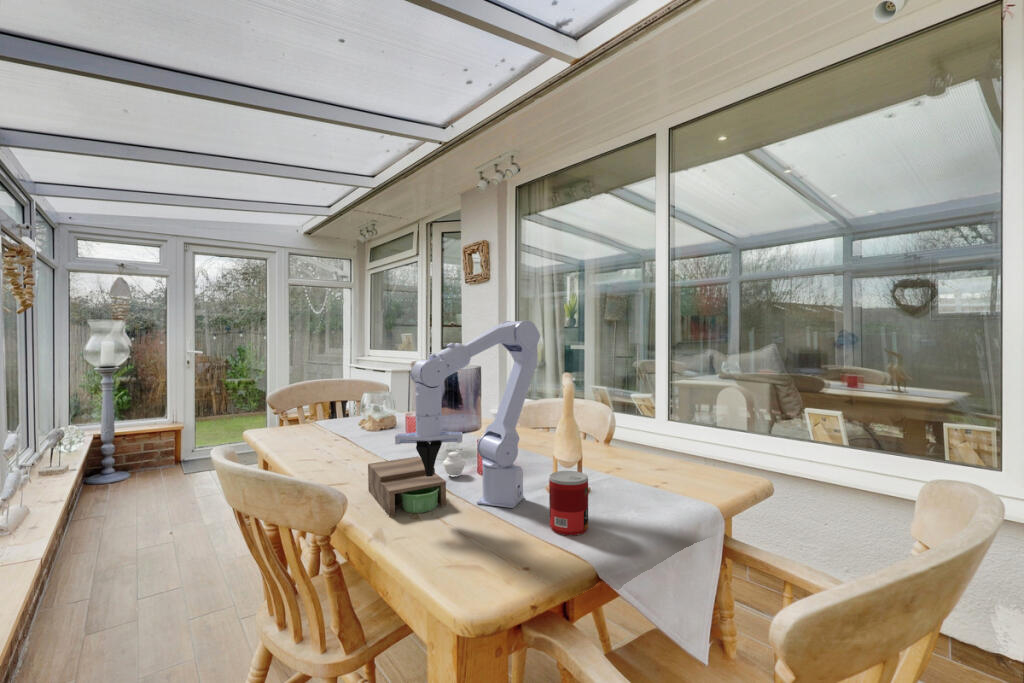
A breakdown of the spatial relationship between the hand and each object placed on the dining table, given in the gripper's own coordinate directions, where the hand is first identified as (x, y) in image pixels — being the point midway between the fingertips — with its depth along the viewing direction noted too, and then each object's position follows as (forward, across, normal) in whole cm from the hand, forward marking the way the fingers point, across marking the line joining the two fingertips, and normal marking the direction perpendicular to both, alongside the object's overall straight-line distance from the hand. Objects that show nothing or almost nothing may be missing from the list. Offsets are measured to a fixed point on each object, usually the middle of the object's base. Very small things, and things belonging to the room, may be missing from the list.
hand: (429, 475), depth 106 cm
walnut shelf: (+9, +8, -12) cm, 17 cm away
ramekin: (+10, +3, -6) cm, 12 cm away
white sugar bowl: (+10, -4, -29) cm, 31 cm away
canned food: (+10, -29, +8) cm, 32 cm away
